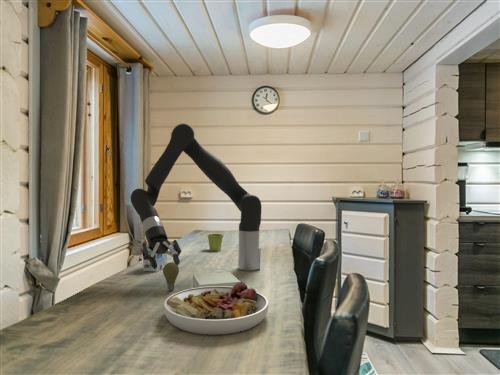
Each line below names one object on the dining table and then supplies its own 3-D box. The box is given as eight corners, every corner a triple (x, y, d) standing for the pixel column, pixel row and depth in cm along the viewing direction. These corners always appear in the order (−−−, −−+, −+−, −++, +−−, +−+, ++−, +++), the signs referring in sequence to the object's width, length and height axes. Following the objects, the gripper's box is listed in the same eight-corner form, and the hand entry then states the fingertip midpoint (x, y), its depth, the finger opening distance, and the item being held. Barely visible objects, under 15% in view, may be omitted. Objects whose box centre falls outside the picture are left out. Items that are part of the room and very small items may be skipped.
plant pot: (226, 250, 209) (227, 234, 209) (216, 252, 201) (216, 236, 201) (213, 248, 214) (214, 233, 214) (203, 250, 206) (203, 235, 206)
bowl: (228, 350, 87) (229, 317, 87) (140, 322, 103) (141, 294, 103) (285, 313, 112) (286, 287, 112) (208, 295, 128) (208, 272, 128)
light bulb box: (157, 272, 158) (157, 247, 157) (142, 271, 159) (142, 246, 159) (167, 266, 168) (167, 242, 168) (153, 265, 169) (154, 242, 169)
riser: (229, 285, 140) (229, 271, 140) (240, 296, 127) (240, 281, 127) (192, 287, 136) (192, 274, 135) (199, 299, 122) (199, 284, 122)
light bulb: (163, 288, 135) (164, 260, 134) (179, 288, 135) (179, 260, 135) (161, 292, 129) (161, 264, 129) (177, 292, 130) (178, 264, 129)
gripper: (139, 226, 137) (151, 262, 128) (174, 223, 145) (188, 258, 137) (133, 238, 141) (145, 274, 132) (168, 235, 150) (181, 269, 141)
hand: (166, 266), depth 134 cm, fingers open, 8 cm apart
